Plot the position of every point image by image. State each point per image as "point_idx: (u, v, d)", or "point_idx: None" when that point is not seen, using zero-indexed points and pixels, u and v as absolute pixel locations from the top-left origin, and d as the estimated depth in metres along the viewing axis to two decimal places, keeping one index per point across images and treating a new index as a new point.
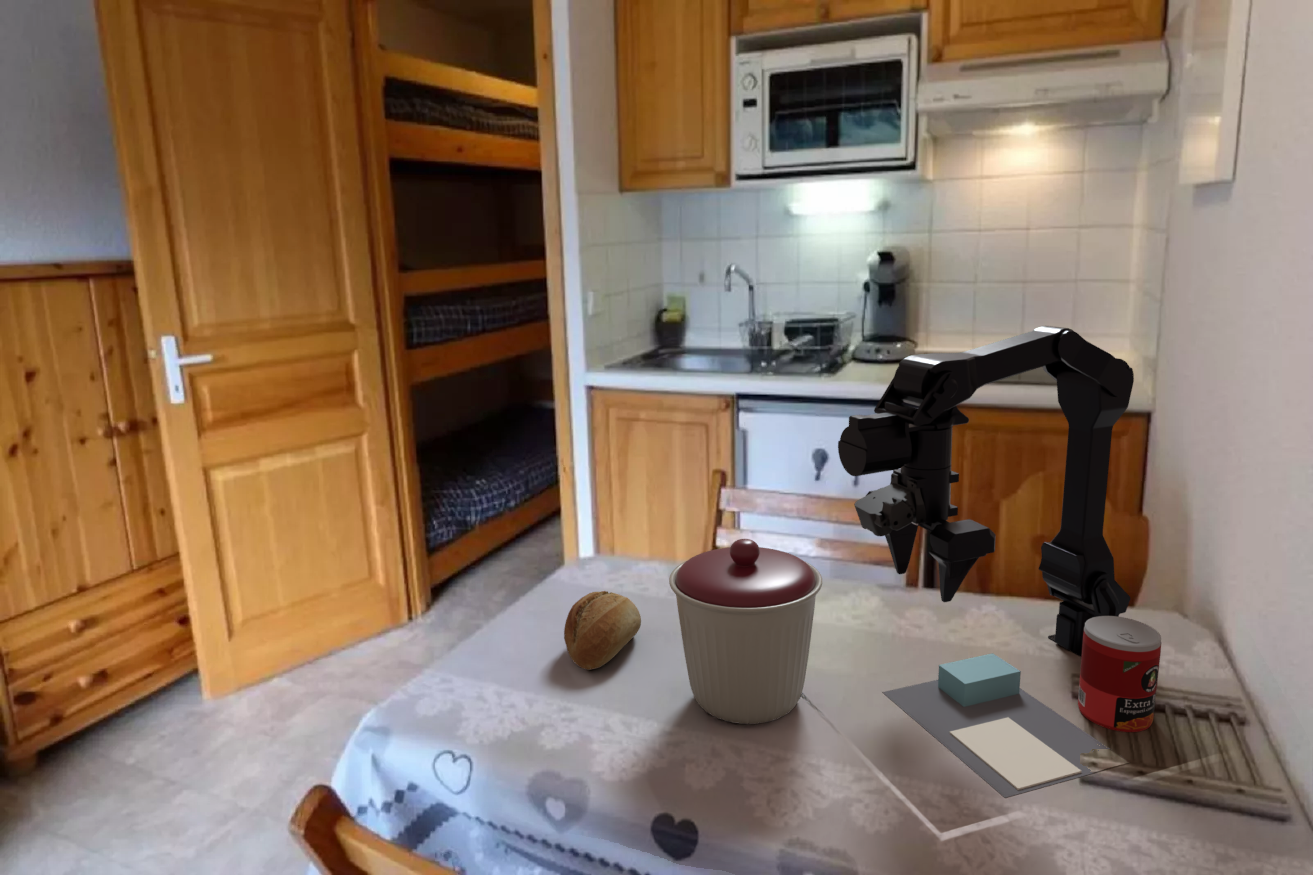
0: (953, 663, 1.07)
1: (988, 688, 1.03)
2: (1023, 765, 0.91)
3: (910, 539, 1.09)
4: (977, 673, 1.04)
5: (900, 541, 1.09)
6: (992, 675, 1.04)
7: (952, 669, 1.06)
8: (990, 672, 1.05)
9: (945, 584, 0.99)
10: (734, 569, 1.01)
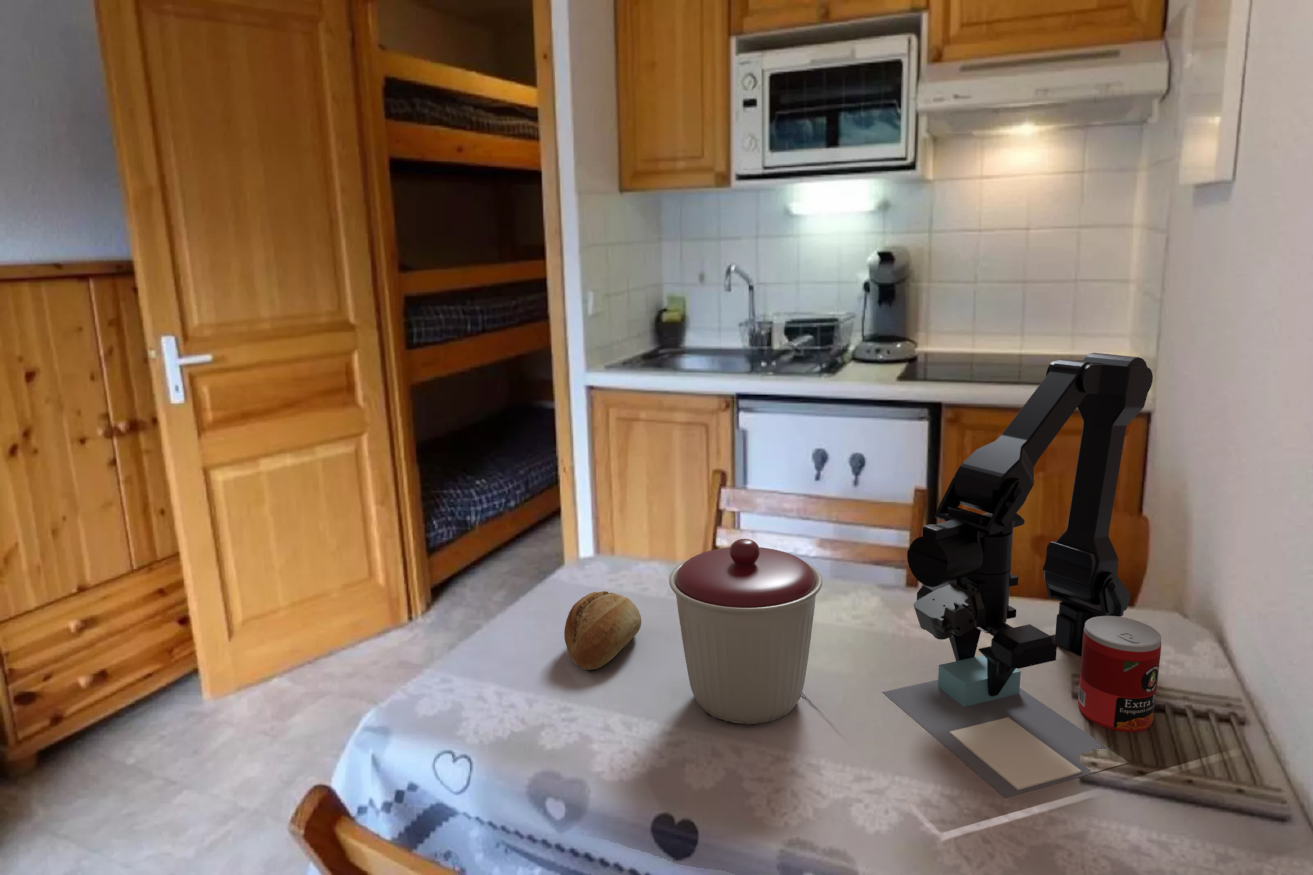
0: (953, 663, 1.07)
1: None
2: (1023, 765, 0.91)
3: (974, 640, 1.08)
4: (977, 673, 1.04)
5: (964, 643, 1.08)
6: None
7: (952, 669, 1.06)
8: None
9: (993, 680, 1.02)
10: (734, 569, 1.01)
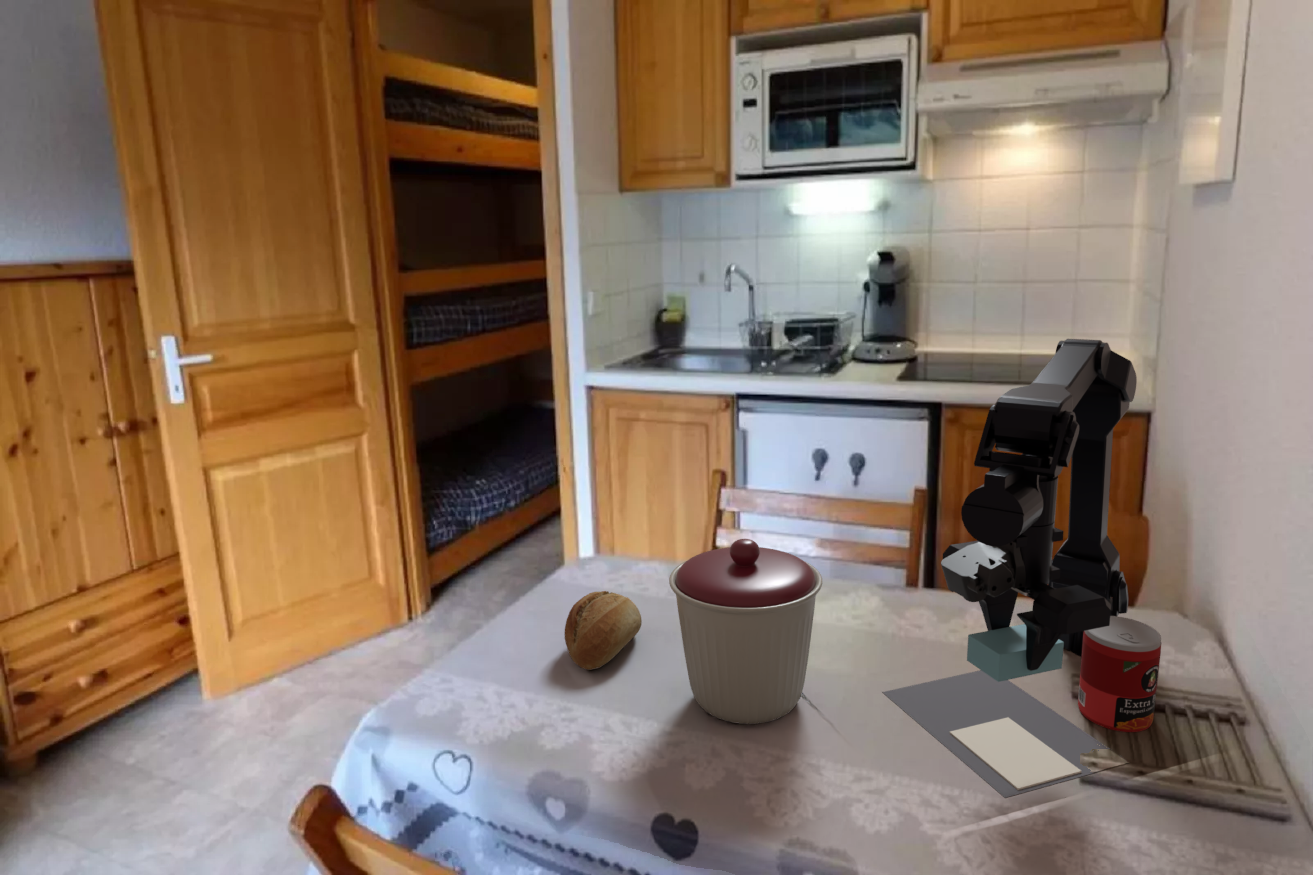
0: (985, 633, 0.93)
1: (1026, 661, 0.89)
2: (1023, 765, 0.91)
3: (1009, 608, 0.94)
4: (1013, 644, 0.90)
5: (998, 610, 0.94)
6: None
7: (984, 639, 0.91)
8: None
9: (1033, 651, 0.88)
10: (734, 569, 1.01)
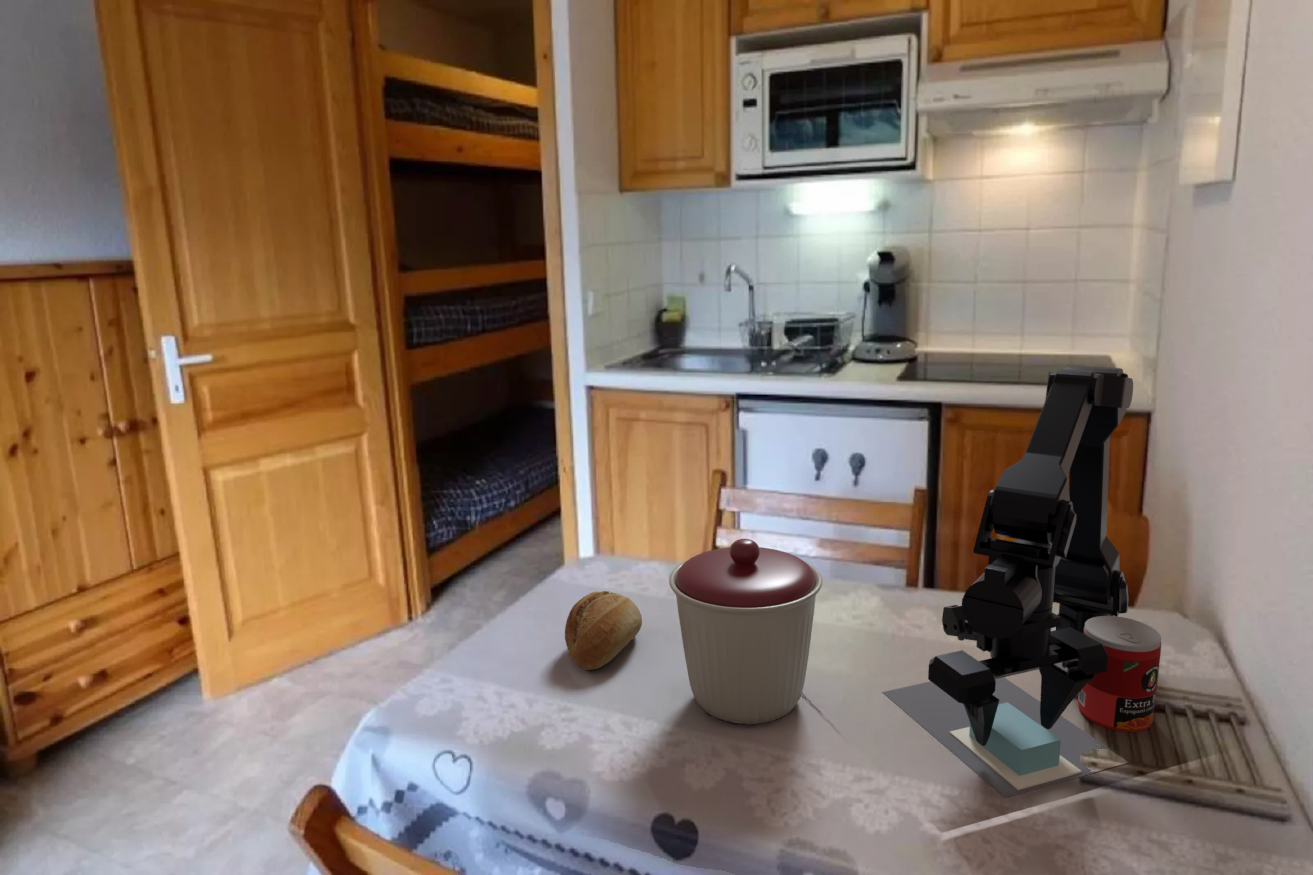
0: (1016, 711, 0.96)
1: (990, 738, 0.93)
2: None
3: (1058, 697, 0.92)
4: (999, 721, 0.94)
5: (1048, 691, 0.94)
6: (1000, 730, 0.92)
7: (1000, 708, 0.96)
8: (1007, 730, 0.92)
9: (969, 718, 0.92)
10: (734, 569, 1.01)
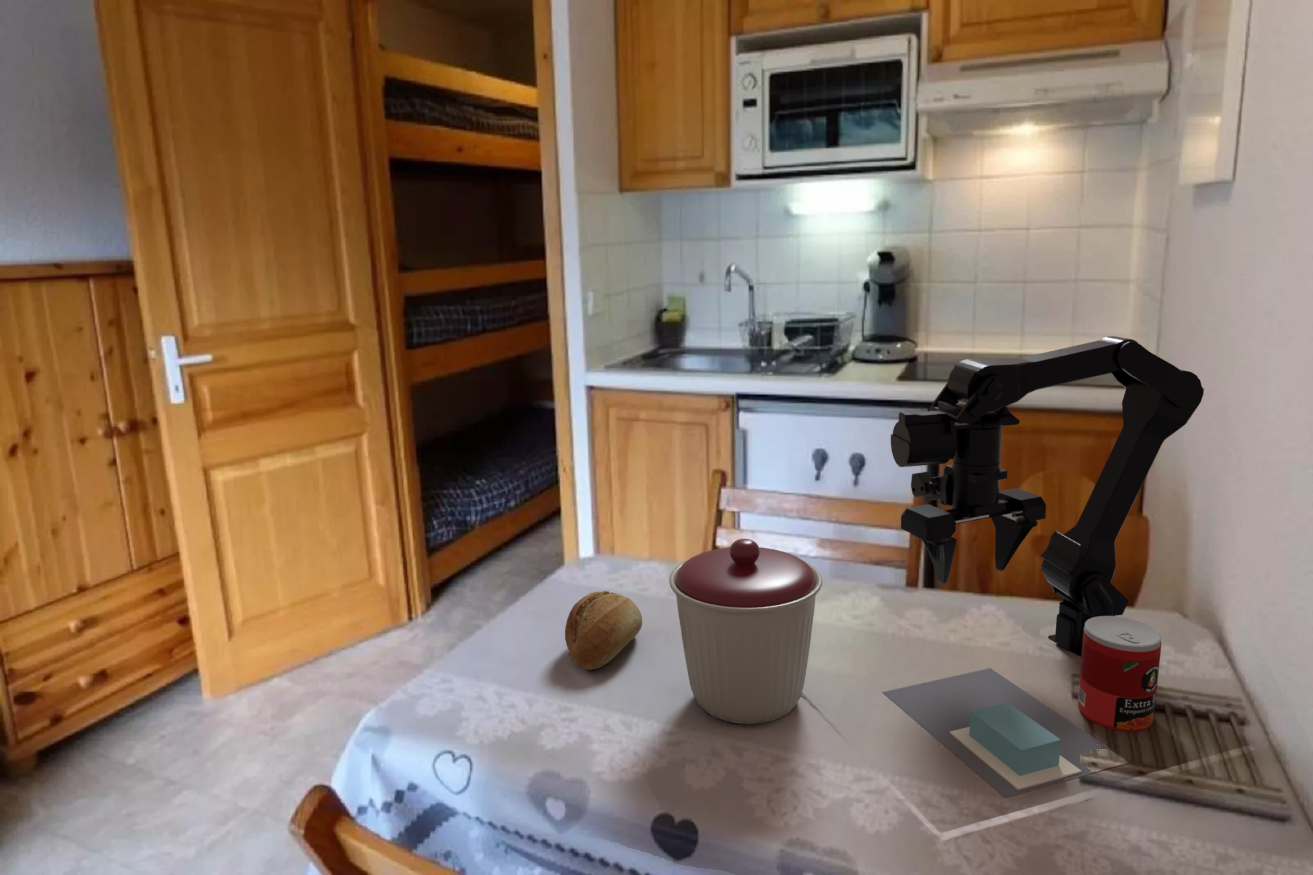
0: (1016, 711, 0.96)
1: (990, 738, 0.93)
2: None
3: (1009, 541, 1.12)
4: (999, 721, 0.94)
5: (1001, 538, 1.13)
6: (1000, 730, 0.92)
7: (1000, 708, 0.96)
8: (1007, 730, 0.92)
9: (932, 562, 1.11)
10: (734, 569, 1.01)
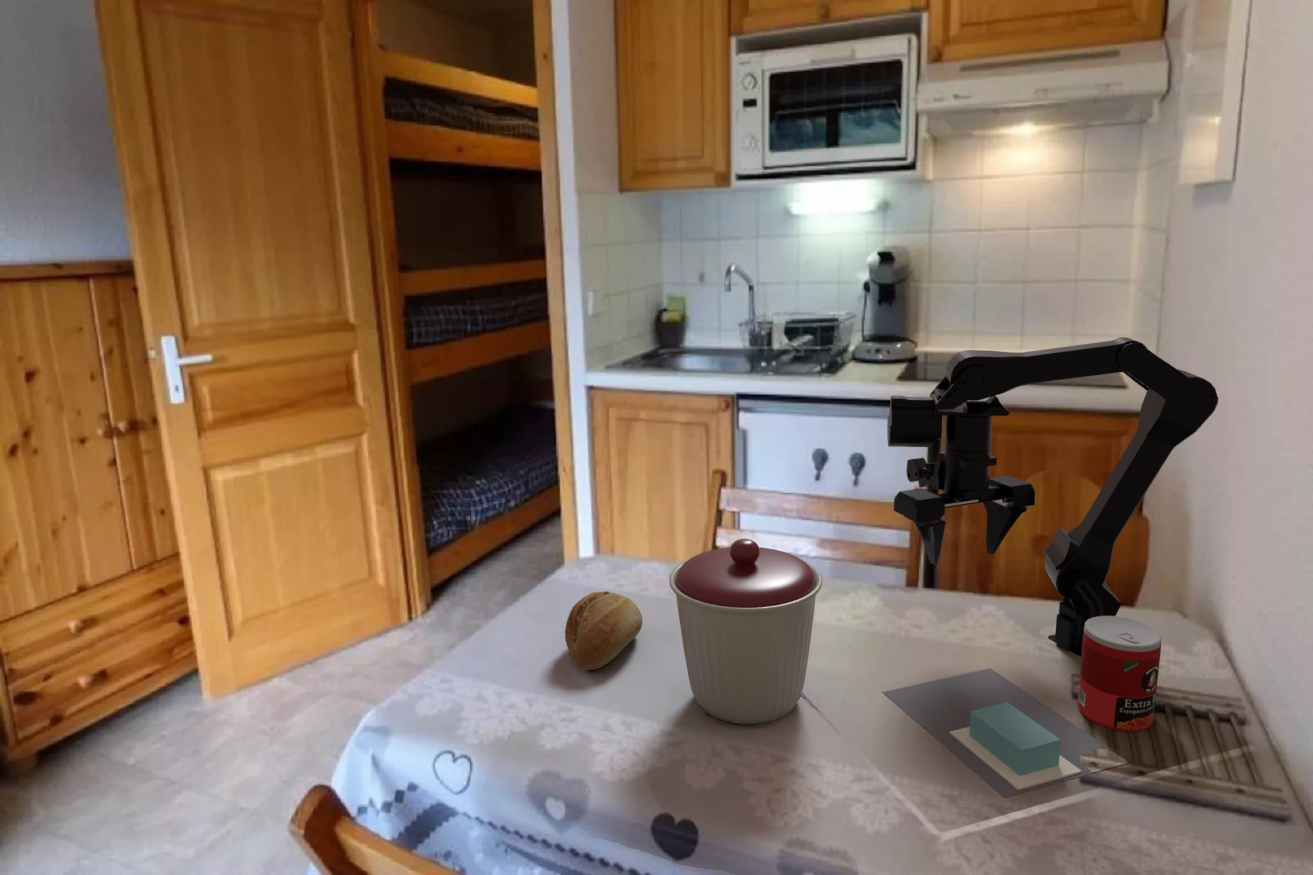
0: (1016, 711, 0.96)
1: (990, 738, 0.93)
2: None
3: (999, 526, 1.17)
4: (999, 721, 0.94)
5: (992, 523, 1.18)
6: (1000, 730, 0.92)
7: (1000, 708, 0.96)
8: (1007, 730, 0.92)
9: (924, 543, 1.16)
10: (734, 569, 1.01)
